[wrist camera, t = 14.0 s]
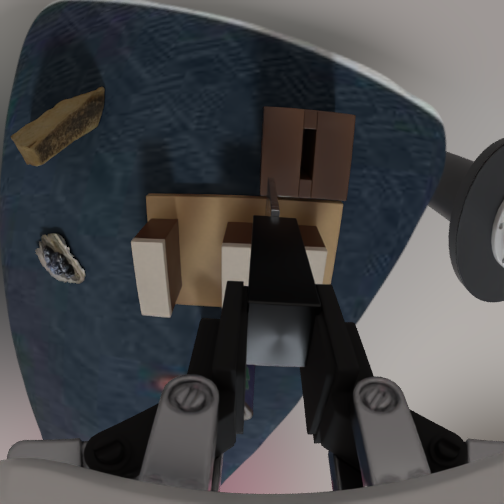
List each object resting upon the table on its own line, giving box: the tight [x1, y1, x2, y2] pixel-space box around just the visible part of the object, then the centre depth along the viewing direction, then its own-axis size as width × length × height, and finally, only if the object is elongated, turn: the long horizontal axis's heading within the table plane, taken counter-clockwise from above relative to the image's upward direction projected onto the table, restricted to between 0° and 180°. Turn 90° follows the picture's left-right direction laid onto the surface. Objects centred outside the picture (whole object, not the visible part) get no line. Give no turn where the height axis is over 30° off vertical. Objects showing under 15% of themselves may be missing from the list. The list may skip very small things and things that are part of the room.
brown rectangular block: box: [131, 218, 182, 317], centre depth 31 cm, size 3×8×6 cm, turn 178°
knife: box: [246, 177, 321, 367], centre depth 15 cm, size 2×3×14 cm, turn 176°
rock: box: [11, 87, 105, 166], centre depth 26 cm, size 11×9×10 cm
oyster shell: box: [35, 233, 85, 284], centre depth 35 cm, size 7×8×2 cm
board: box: [146, 194, 343, 307], centre depth 35 cm, size 20×13×1 cm, turn 88°
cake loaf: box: [222, 222, 327, 306], centre depth 31 cm, size 9×8×6 cm
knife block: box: [260, 106, 355, 201], centre depth 27 cm, size 7×7×7 cm
